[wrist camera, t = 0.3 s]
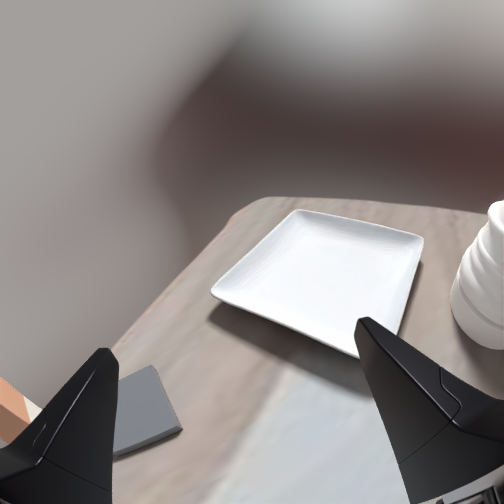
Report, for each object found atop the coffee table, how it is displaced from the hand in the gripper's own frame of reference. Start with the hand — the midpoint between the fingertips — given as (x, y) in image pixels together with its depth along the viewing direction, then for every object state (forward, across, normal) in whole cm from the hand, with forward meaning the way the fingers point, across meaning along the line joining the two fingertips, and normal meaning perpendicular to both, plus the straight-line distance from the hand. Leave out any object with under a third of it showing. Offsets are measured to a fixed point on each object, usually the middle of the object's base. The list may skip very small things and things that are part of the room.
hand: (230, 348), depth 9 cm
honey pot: (+7, -30, +13) cm, 33 cm away
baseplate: (+6, +12, +17) cm, 22 cm away
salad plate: (+20, -11, +14) cm, 27 cm away
